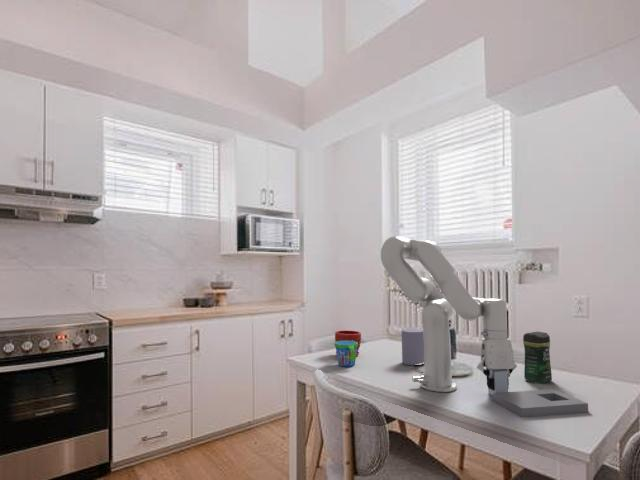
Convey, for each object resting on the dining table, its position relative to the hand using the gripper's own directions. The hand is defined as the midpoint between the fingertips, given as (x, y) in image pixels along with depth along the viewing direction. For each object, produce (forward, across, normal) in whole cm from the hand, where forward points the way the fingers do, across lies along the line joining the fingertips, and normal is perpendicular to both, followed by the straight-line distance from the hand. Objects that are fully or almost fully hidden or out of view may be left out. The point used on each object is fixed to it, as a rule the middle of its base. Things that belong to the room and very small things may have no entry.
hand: (497, 387), depth 132 cm
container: (+3, -11, +47) cm, 48 cm away
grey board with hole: (+2, +6, -12) cm, 14 cm away
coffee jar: (+3, +25, +12) cm, 28 cm away
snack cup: (+3, -42, +50) cm, 65 cm away
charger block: (+2, 0, 0) cm, 2 cm away
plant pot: (+3, -37, +68) cm, 77 cm away
